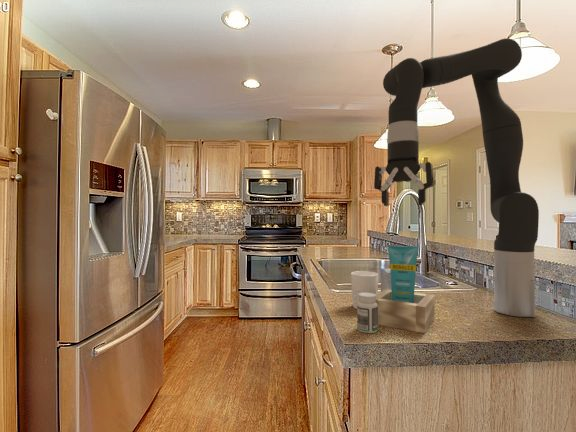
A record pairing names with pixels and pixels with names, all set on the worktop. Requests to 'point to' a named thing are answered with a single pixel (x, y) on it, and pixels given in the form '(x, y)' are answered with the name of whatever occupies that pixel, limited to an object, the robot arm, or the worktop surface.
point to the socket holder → (406, 311)
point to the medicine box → (385, 279)
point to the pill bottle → (367, 313)
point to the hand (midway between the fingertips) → (402, 205)
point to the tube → (403, 272)
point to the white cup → (363, 284)
